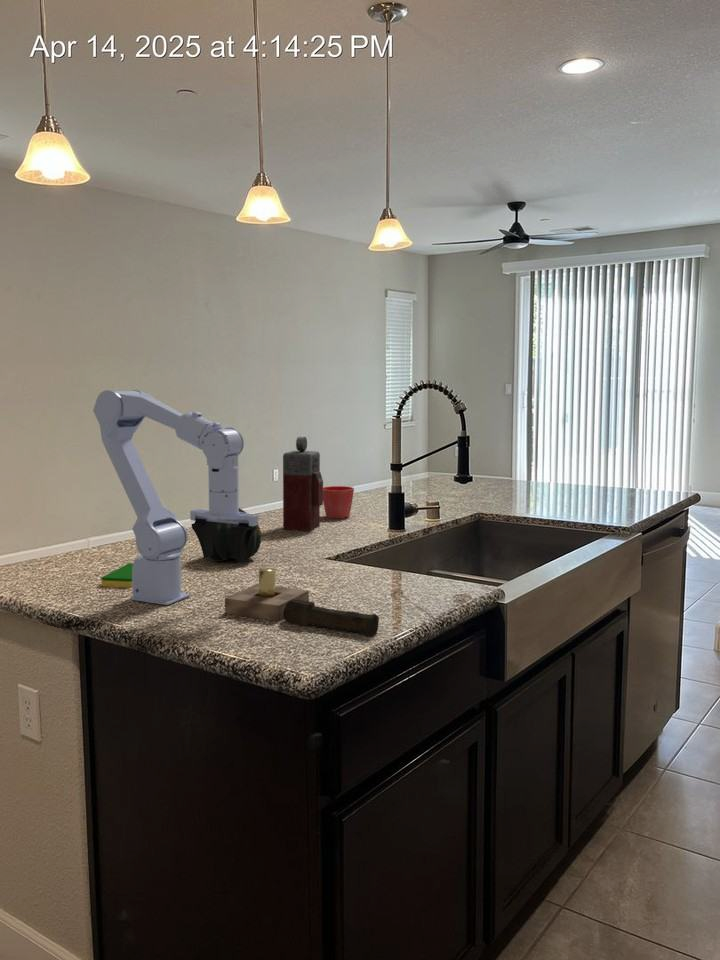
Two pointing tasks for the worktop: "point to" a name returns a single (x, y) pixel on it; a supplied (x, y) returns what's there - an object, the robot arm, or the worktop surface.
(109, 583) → the dish sponge
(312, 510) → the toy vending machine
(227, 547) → the squash
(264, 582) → the brass peg
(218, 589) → the worktop surface
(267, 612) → the socket block
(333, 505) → the flower pot
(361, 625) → the hand tool
